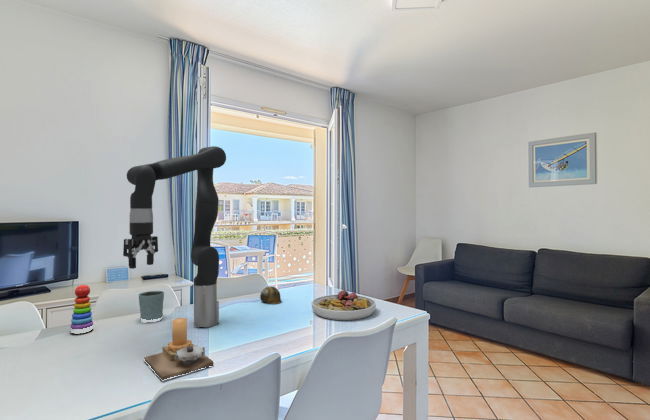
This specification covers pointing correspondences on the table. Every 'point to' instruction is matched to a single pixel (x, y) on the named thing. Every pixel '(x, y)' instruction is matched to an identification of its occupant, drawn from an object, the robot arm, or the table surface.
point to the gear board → (178, 361)
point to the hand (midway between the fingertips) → (141, 266)
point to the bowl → (343, 306)
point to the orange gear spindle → (179, 335)
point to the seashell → (270, 295)
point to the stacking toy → (82, 308)
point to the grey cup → (151, 304)
